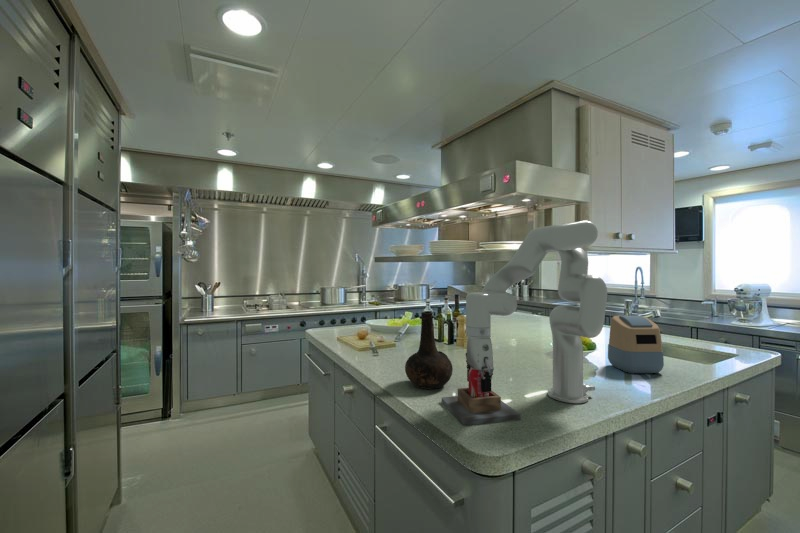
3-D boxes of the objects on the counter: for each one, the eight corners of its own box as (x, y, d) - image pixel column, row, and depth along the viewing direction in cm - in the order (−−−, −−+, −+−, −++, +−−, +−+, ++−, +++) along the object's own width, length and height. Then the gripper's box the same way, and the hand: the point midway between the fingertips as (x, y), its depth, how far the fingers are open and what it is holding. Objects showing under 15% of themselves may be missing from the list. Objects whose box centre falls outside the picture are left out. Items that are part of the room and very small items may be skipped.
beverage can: (470, 400, 114) (470, 363, 114) (490, 403, 112) (490, 365, 112) (466, 407, 108) (466, 368, 108) (487, 410, 106) (487, 370, 106)
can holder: (490, 397, 120) (490, 381, 121) (520, 419, 103) (520, 400, 103) (441, 401, 116) (441, 385, 116) (463, 425, 99) (463, 406, 99)
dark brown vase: (462, 387, 130) (461, 312, 130) (422, 397, 121) (422, 316, 121) (433, 375, 145) (433, 308, 145) (396, 382, 136) (396, 310, 136)
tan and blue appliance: (628, 375, 144) (628, 319, 144) (604, 364, 161) (604, 314, 161) (668, 375, 145) (668, 319, 145) (640, 364, 161) (639, 314, 161)
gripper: (503, 336, 102) (503, 394, 102) (477, 326, 119) (477, 376, 119) (479, 337, 100) (480, 397, 100) (456, 327, 117) (456, 378, 117)
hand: (478, 386), depth 110 cm, fingers open, 9 cm apart
